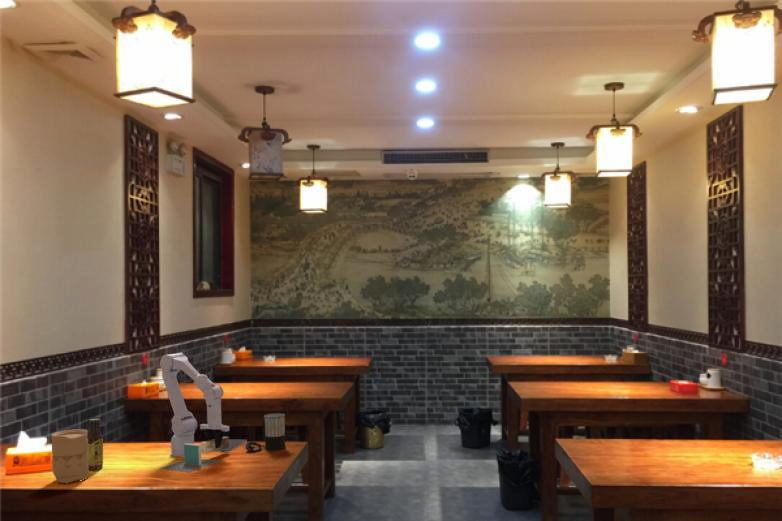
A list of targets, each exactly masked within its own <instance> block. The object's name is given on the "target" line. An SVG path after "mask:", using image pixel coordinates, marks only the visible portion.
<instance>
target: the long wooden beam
mask: <svg viewBox="0 0 782 521" xmlns="http://www.w3.org/2000/svg"><path fill="white" fill-rule="evenodd" d="M229 439H230V437H229V436H223V438H222V441H221V446H220V448H216V447H215V439H213V440H209V441H208V440H206V441H205V440H204V441H201V443H200V445H201V455H206V454H211V453H214V452H215V451H218V450H222V449H226V448H229Z"/></svg>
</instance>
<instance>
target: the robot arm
mask: <svg viewBox="0 0 782 521" xmlns="http://www.w3.org/2000/svg"><path fill="white" fill-rule="evenodd" d="M159 365H160V369H161V378H162V380H163V384H164V386H165V389H166V392H167V396H168V399H169V401H170V405H171V408H172V411H173V417H172V418H171V421H170V422H171V424H172V425H171V429H172V432H173V433H174V434H173V435H172V437H171V439H170V455H169V456H170V457H171V456H174V457H182V458H184V444H185V443H189V444H195V436H194V435H195V432H196V430H197V428H198V421H197V419H196V418H195V416H194V414H193V413H192V412H191V411H189V410H188V408H187V406H186V402H185V400H184V396H183V393H182V389H181V387H180V385H179V382H178V378H177V376H178V374H179V372H180V371H182V372H184V373H185V374H186V375H187V376H188V377H189V378H191V379H192V380H193V384H194V385H195V387H196V388H197V389H198V390H199V391H200V392H202V393H203V398H204V400H205V403H206V404H205V405H206V413H207V414H206V419H207V422H206V423H202V424H199V427H200V428H199V430H205V431H203V433H204V435H205V437H206V438H207V441H209V440H213V439H215V447H216V448H220V446H221V441H222V438H223V437H225V433H226V432H229V431H230V425H224V424H223V423H222V398H223V396H224V390H223V388H222V386H221V385H219V384H215V383H214V382H213V381H212V380H211V379H210V378H208V376H207V374H204V373H203V374H202V373H199V371H198V370H197V369H196V368H195V367H194V366H193V365H192V363H190V362H189V358H188V357H187V356H186V354H184V353H183V352H178V353H172V354H171V353H170V354H164V355H163V356H162V357H161V358H160V361H159Z"/></svg>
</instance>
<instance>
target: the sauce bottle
mask: <svg viewBox="0 0 782 521" xmlns="http://www.w3.org/2000/svg"><path fill="white" fill-rule="evenodd" d="M88 423H89V432H87V434H88V435H87V439H88V471H95V470H96V471H97V470H100V469H102V468H103V464H104V438H103V435H102V433H101V429H100V423H101V420H100V418H92V419H91V418H90V419H89V421H88Z"/></svg>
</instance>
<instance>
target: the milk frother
mask: <svg viewBox="0 0 782 521" xmlns="http://www.w3.org/2000/svg"><path fill="white" fill-rule="evenodd" d="M285 416H286V414H285V413H280V412H279V413H268V414H265V415H263V419H262V433H263V434H262V435H263V441H264V442H265V443H264V445H262V444H260V443H258V442H255V441H249V442H246V443H245V449H246V451H247V452H250V453H258V452H261V451H262V450H263V449H262V448H264V450H265V451H266V452H267V451H268V452H269V451H270V452H274V451H275V452H277V451H282V450H285V449H286V448H287V446H286V433H285V432H286V429H285V428H286V426H285V424H286V423H285V422H286V421H285ZM256 447H257V449H256Z"/></svg>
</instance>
